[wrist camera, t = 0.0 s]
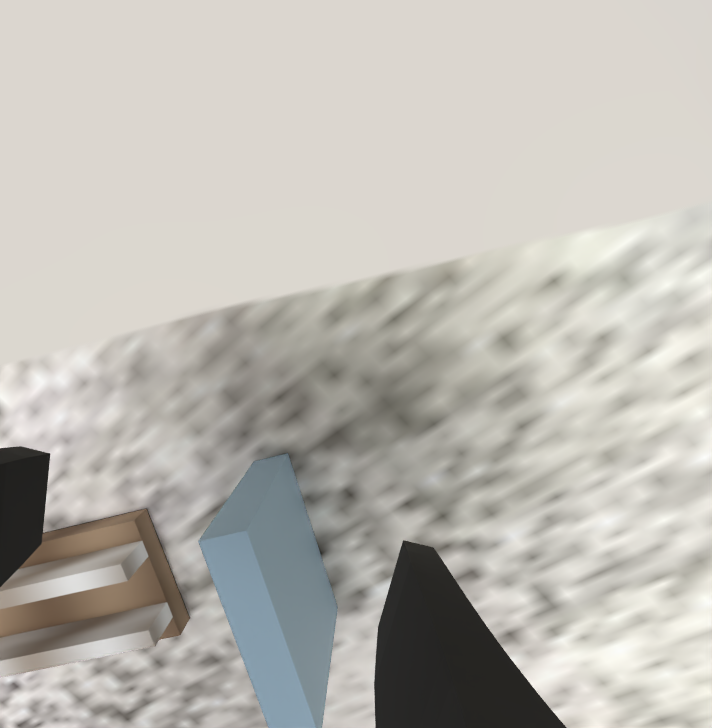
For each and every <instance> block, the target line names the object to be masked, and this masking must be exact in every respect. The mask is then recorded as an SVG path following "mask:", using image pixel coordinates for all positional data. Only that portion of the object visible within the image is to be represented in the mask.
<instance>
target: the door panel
mask: <svg viewBox="0 0 712 728" xmlns="http://www.w3.org/2000/svg"><path fill="white" fill-rule="evenodd" d="M198 542H199V545H200V547H201V550H202V552H203V555H204V558H205V560H206V563H207V566H208V568H209V571H210V574H211V576H212V579H213V582H214V584H215V587H216V590H217V592H218V595H219V598H220V600H221V603H222V606H223V608H224V611H225V613H226V616H227V619H228V621H229V624H230V627H231V629H232V632H233V635H234V637H235V640H236V643H237V645H238V648H239V651H240V653H241V656H242V659H243V661H244V664H245V666H246V669H247V672H248V674H249V677H250V680H251V682H252V685H253V688H254V690H255V693H256V696H257V698H258V701H259V704H260V706H261V709H262V712H263V714H264V717H265V720H266V722H267V725H268V727H269V728H322V723H323V715H324V708H325V700H326V692H327V685H328V677H329V670H330V662H331V654H332V647H333V639H334V631H335V624H336V616H337V608H338V607H337V603H336V600H335V597H334V594H333V591H332V588H331V585H330V582H329V579H328V576H327V572H326V569H325V566H324V563H323V560H322V557H321V554H320V551H319V548H318V545H317V542H316V538H315V535H314V532H313V529H312V526H311V523H310V520H309V517H308V514H307V511H306V507H305V504H304V501H303V498H302V495H301V492H300V489H299V486H298V483H297V480H296V477H295V473H294V470H293V467H292V464H291V461H290V458H289V455H288V453H287V454H283V455H278V456H274V457H270V458H266V459H262V460H258V461H254V462H253V464H252V465H251V467H250V468H249V469H248V471H247V472H246V474H245V475H244V477H243V478H242V479H241V481H240V482H239V484H238V485H237V487H236V488H235V490H234V491H233V492H232V494H231V495H230V497H229V498H228V500H227V501H226V502H225V504H224V505H223V507H222V508H221V510H220V511H219V512H218V514H217V515H216V517H215V518H214V520H213V521H212V523H211V524H210V525H209V527H208V528H207V530H206V531H205V533H204V534H203V535H202V537H201V538H200V540H199V541H198Z"/></svg>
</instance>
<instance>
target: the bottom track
mask: <svg viewBox="0 0 712 728" xmlns="http://www.w3.org/2000/svg"><path fill="white" fill-rule="evenodd" d="M189 619H190V618H189V615H188V613H187V610H186V608H185V605H184V603H183V600H182V598H181V595H180V593H179V590H178V588H177V585H176V582H175V580H174V577H173V575H172V572H171V570H170V567H169V565H168V562H167V560H166V557H165V555H164V552H163V550H162V547H161V545H160V542H159V539H158V537H157V534H156V532H155V529H154V527H153V524H152V522H151V519H150V517H149V514H148V512H147V509H143V510H139V511H135V512H130V513H126V514H122V515H118V516H114V517H109V518H105V519H101V520H97V521H93V522H89V523H84V524H80V525H76V526H72V527H68V528H63V529H59V530H55V531H51V532H47V533H43V534H42V544H41V545H40V546H39V547H38V548H37V549H36V550H35V552H34V553H33V554H32V555H31V556H30V557H29V558H28V559H27V560H26V561H25V562H24V564H23V565H22V566H21V567H20V568H19V569H18V570H17V571H16V572H15V573H14V574H13V575H12V576H11V577H10V578H9V579H8V580H7V581H6V582H5V583H4V584H3V585H2V586H1V587H0V677H5V676H10V675H15V674H20V673H25V672H30V671H35V670H40V669H45V668H50V667H55V666H60V665H65V664H70V663H75V662H80V661H84V660H89V659H94V658H99V657H104V656H109V655H114V654H119V653H124V652H129V651H134V650H139V649H144V648H149V647H154V646H155V645H156V644H157V642H158V641H159V639H164V638H169V637H174V636H179V635H181V633H182V631H183V630H184V628H185V626H186V624H187V622H188V621H189Z"/></svg>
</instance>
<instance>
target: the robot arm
mask: <svg viewBox="0 0 712 728" xmlns="http://www.w3.org/2000/svg"><path fill="white" fill-rule="evenodd" d="M49 460H50V454H49V453H45V452H41V451H37V450H33V449H29V448H25V447H10V448H0V587H1V586H2V585H3V584H4V583H5V582H6V581H7V580H8V579H9V578H10V577H11V576H12V575H13V574H14V573H15V572H16V571H17V570H18V569H19V568H20V567H21V566H22V565H23V564H24V562H25V561H26V560H27V559H28V558H29V557H30V556H31V555H32V554H33V553H34V552H35V550H36V549H37V548H38V547H39V546H40V545H41V544H42V534H43V524H44V513H45V503H46V492H47V482H48V471H49ZM374 689H375V721H376V728H566V727H565V725H564V724H563V723H562V722H561V721H560V720H559V719H558V717H557V716H556V715H555V714H554V713H553V711H552V710H551V709H550V708H549V707H548V705H547V704H546V703H545V702H544V701H543V699H542V698H541V697H540V696H539V695H538V693H537V692H536V691H535V689H534V688H533V687H532V686H531V684H530V683H529V682H528V680H527V679H526V678H525V677H524V675H523V674H522V673H521V672H520V670H519V669H518V668H517V666H516V665H515V664H514V663H513V661H512V660H511V659H510V657H509V656H508V655H507V653H506V652H505V651H504V649H503V648H502V647H501V645H500V644H499V643H498V641H497V640H496V639H495V637H494V636H493V634H492V633H491V632H490V630H489V629H488V627H487V626H486V625H485V623H484V622H483V620H482V619H481V618H480V616H479V615H478V613H477V612H476V610H475V609H474V607H473V606H472V604H471V603H470V602H469V600H468V599H467V597H466V596H465V594H464V593H463V591H462V590H461V588H460V587H459V585H458V584H457V582H456V581H455V579H454V578H453V576H452V575H451V573H450V572H449V570H448V568H447V567H446V565H445V564H444V562H443V561H442V559H441V558H440V556H439V555H438V553H437V552H436V551H435V549H434V548H433V547H428V546H424V545H420V544H416V543H412V542H408V541H404V540H403V543H402V546H401V550H400V553H399V557H398V560H397V563H396V567H395V570H394V574H393V577H392V581H391V584H390V588H389V591H388V595H387V598H386V602H385V605H384V609H383V612H382V615H381V619H380V622H379V626H378V636H377V650H376V665H375V682H374Z"/></svg>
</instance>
